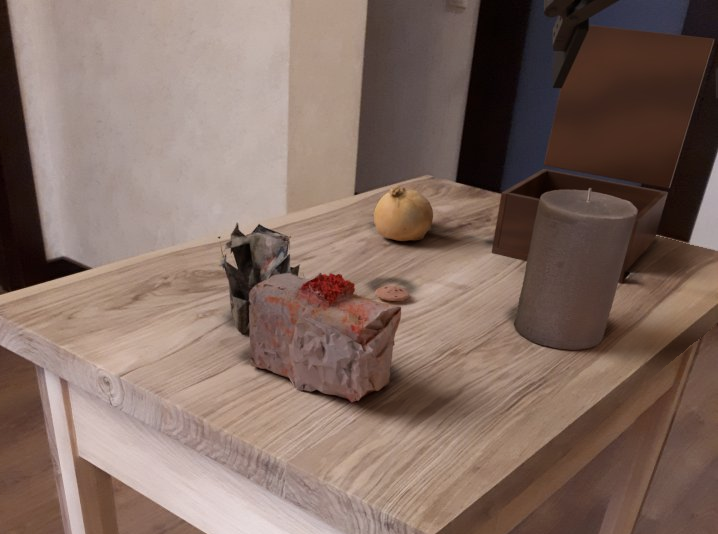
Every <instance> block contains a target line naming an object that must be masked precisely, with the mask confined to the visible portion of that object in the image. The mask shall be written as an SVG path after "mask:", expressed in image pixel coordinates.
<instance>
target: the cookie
mask: <svg viewBox="0 0 718 534" xmlns="http://www.w3.org/2000/svg"><path fill="white" fill-rule="evenodd" d="M374 294H375V295H376V296H377V297H378V298H379V299H382V300H384V301H389V302H401V301H405V300H407V299H409V298H410V296H411V294H410V292H409V290H407V289H405V288H403V287H401V286H397V285H383V286H380V287H378V288H377V289H375V290H374Z"/></svg>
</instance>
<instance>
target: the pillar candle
mask: <svg viewBox="0 0 718 534" xmlns="http://www.w3.org/2000/svg"><path fill="white" fill-rule="evenodd" d="M637 212H638V210H637V208H636V207H635V206H634V205H633V204H632V203H631V202H629V201H627V200H623V199H620V198H617V197H614V196H611V195H606V194H602V193H597V192H592V191H591V188H589V190H588V191H583V190H554V191H550V192H546V193H544V194H542V195H541V197H540V200H539V205H538V210H537V215H536V219H535V224H534V229H533V235H532V240H531V245H530V250H529V253H528V258H527V261H526V264H525V270H524V276H523V281H522V285H521V290H520V293H519V297H518V304H517V311H516V316H515V318H514V322H513V325H514V329H515V331H516V332H517V333H518V334H519V335H520V336H522V337H523V338H525V339H527V340H528V341H531V342H532V343H536V344H538V345H540V346H544V347H550V348H553V349H559V350H573V351H575V350H585V349H591V348H594V347H596V346H598V345H600V343H601V342H602V340H603V338H604V336H605V332H606V328H607V325H608V321H609V318H610V314H611V311H612V308H613V303H614V300H615V296H616V293H617V289H618V285H619V282H618V281H619V278H620V274H621V270H622V267H623V263H624V259H625V255H626V252H627V248H628V244H629V241H630V237H631V234H632V230H633V226H634V223H635V219H636V216H637Z"/></svg>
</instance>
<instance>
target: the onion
mask: <svg viewBox="0 0 718 534" xmlns="http://www.w3.org/2000/svg"><path fill="white" fill-rule="evenodd" d="M433 221H434V210H433V208H432V205H431V202H430V201H429V200H428V198H427V197H425V196H424V195H423V194H422V193H420V192H419V191H417V190H414V189H411V188H410V189H409V188H406V187H403V186H400V185H398V184H397V185H395V186H394V187H390V190H389V191H388V192H386V193H384V195H383V196H382V197H381V198H380V199H379V201H378V202H377V204H376V207H375V209H374V211H373V222H374V226H375V228H376V231H377V232H378V235H380V236H382V237H383V238H385V239H390V240H395V241H397V242H407V241H413V242H415V241H420V240H422V239H424V237H425V235H426V234H427V232H428V231H429V229H430V227H432V226H431V225H432V224H433Z"/></svg>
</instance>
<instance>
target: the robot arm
mask: <svg viewBox="0 0 718 534" xmlns="http://www.w3.org/2000/svg"><path fill="white" fill-rule="evenodd" d="M619 1H620V0H543V8H544V9H543V14H544V16H545V17H547V18H549V19H551V18H555V17H557V19H556V20H555V23H554V26H553V28H552V50H553V52H554V55H553V57H552V89H560V88H561V89H562V87H563V85H564V82H565V80H566V78H567V76H568V74H569V72H570V69H571V67H572V65H573V63H574V61H575V59H576V56H577V54H578V52H579V50H580V48H581V46H582V43H583V41H584V39H585V37H586V35H587V33H588V30H589V25H590V18H592V17H594V16H595V15H597V14H599V13H600V12H603V11H604V10H606V9H607V8H610V7H611V6H612V5H615V4H616V3H618V2H619ZM714 72H715V100H716V101H718V66H717V67H716V69H715V71H714Z"/></svg>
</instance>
